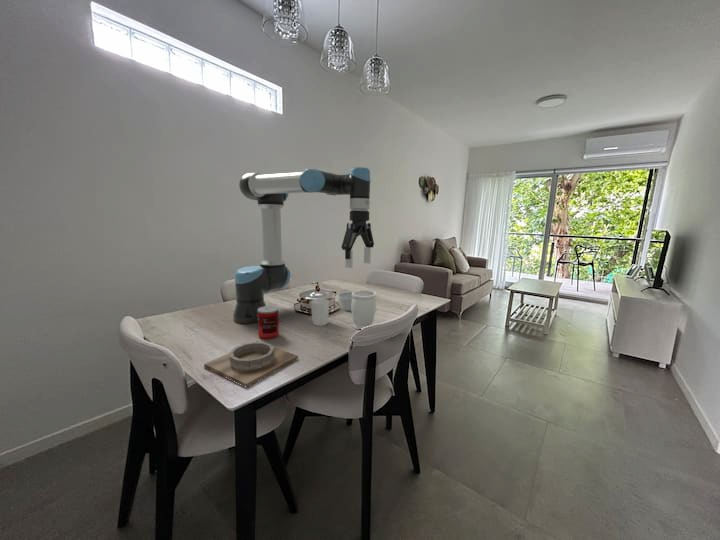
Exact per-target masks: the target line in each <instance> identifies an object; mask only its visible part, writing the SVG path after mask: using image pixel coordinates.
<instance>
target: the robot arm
mask: <svg viewBox="0 0 720 540" xmlns="http://www.w3.org/2000/svg"><path fill="white" fill-rule="evenodd" d="M238 185H239V190H240V193H242V195H243V196H244V197H246V198H247V199H249V200H253V201H257V206H258V207H259V208H260V209H261V230H262V231H261V234H262V236H261V237H262V260H261V261H260V263H259V264H260V265H251V266H244V267H241V268H239V269H237V270H236V271H235V274H234V275H235V277H234V282H235V297H236V305H235V307H234V312H233V314H232V319H233V322H234V323H237V324H245V325H247V324H255V323H258V308H260V307H263V306H267V304H266V301H265V298H264V297H265V295H264V294H265V293H268V292H272V291H278V290H281V289H283V288H285V287H287V286H288V284H289V283H290V280H291V271H290V269H289V267H288V266H287V265H286V262H285V261H284V260H283V258H282V257H283V254H282V251H283V250H282V222H281V221H282V218H281V217H282V216H281V209H282V208H283V207H284V202H286V201H287V199H288V197H289V194H302V193H307V194H308V193H311V194H312V193H320V194H326V195H328V196H343V195H346V196H347V195H348V196H349V209H350V211H349V221H351V222H347V223H346V231H345V233H344V237H343V241H342V244H341V250H342V251H344V256H345V262H344V263H345V264H344V265H345V268H348V269H352V268H353V262H354V261H353V260H354V259H353V255H354V254H353V253H354V251H353V248H354V244H355V242H356V240H357V238H358V237H359V236H360V237H361V239H362V242H363V243H364V249H363V264H371V255H372V254H371V253H372V252H371V251H372V248H374V246H375V242H374V237H373V233H372V229H371V228H372V225H371V223H370V222H369V221H370V211H369V210H370V204H371V202H370V199H371V198H370V196H371V195H370V192H371V191H370V190H371V170H370V169H369V168H368V167H361V166H358V167H357V166H355V167H350V172H349V173H348V174H335V173H332V172H328V171H324V170H319V169H318V168H306V169H304V170H303V171H293V172H291V171H290V172H279V173H268V174H267V173H266V174H264V173H261V172H247V173H245V174H244V175H242V176H241V177H240V179H239V184H238Z"/></svg>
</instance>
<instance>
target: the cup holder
mask: <svg viewBox="0 0 720 540" xmlns="http://www.w3.org/2000/svg"><path fill="white" fill-rule="evenodd" d="M296 359H297V360H299V356H298V355H297V354H294V353H292V352H289V351H286V350H283V349H280V348H277V347H275V346H273V344H271V343H268V342H265V341H263V342H262V341H254V342H248V343H247V342H246V343H243V344H240V345H237V346H236V347H234V348H233V349H231V350H230V352H229V353H226V354H224V355H222V356H220V357H217V358H214V359H212V360H209V361H207V362H205V363H204V364H203V368H205V367H206V368H205V369H207V368H208V369H207V370H209V369H210V371H211V370H212V371H211V372H213V371H214V372H213V373H215V372H216V373H215V374H217V373H218V374H217V375H219V374H220V375H219V376H221V375H222V376H221V377H223V376H224V377H223V378H225V377H227V378H229V379H231V380H233V381H235V382H237V383H239V384H241V385H243V386H246V387H247V386H249V385H251V384H253V383H254V382H256V381H258V380H260V379H262V378H263V379H265V378H266V376H267V377H268V375H269V376H270V375H272V374H274V373H275V371H276V372H277V371H279V370H281V369H282V367H283V368H284V367H286V366H288V365H289V363H290V364H292V363H293V362H295V361H297V360H296ZM294 360H295V361H294ZM292 361H293V362H292ZM291 362H292V363H291ZM280 368H281V369H280ZM278 369H279V370H278ZM273 372H274V373H273ZM264 377H265V378H264ZM227 378H226V379H227ZM229 379H228V380H229ZM263 379H262V380H263ZM231 380H230V381H231ZM233 381H232V382H233ZM260 381H261V380H260ZM235 382H234V383H235ZM258 382H259V381H258ZM237 383H236V384H237ZM256 383H257V382H256ZM239 384H238V385H239ZM254 384H255V383H254ZM254 384H253V385H254ZM241 385H240V386H241ZM243 386H242V387H243ZM251 386H252V385H251ZM249 387H250V386H249ZM247 388H248V387H247Z"/></svg>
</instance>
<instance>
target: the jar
mask: <svg viewBox="0 0 720 540" xmlns="http://www.w3.org/2000/svg"><path fill="white" fill-rule="evenodd" d="M351 292H352V297H353V298H352V303H351V311H350V312H351V317H352V320H353V328H354V329H355V330H359V329H361V328H363V327H366V326H369V325H373V321H374V319H375V314H376V306H377V303H376V297H377V293H376V292H375V291H370V290H355V291H351ZM359 331H360V330H359Z"/></svg>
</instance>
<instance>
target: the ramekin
mask: <svg viewBox="0 0 720 540" xmlns="http://www.w3.org/2000/svg"><path fill="white" fill-rule="evenodd" d="M352 292H353V291H347V292H341V293H338V294H337V298H338V306H339V308H340V310H341V311H345V310H346V311H347V312H352V311H351V303H352V298H353V297H352ZM346 311H345V312H346Z"/></svg>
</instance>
